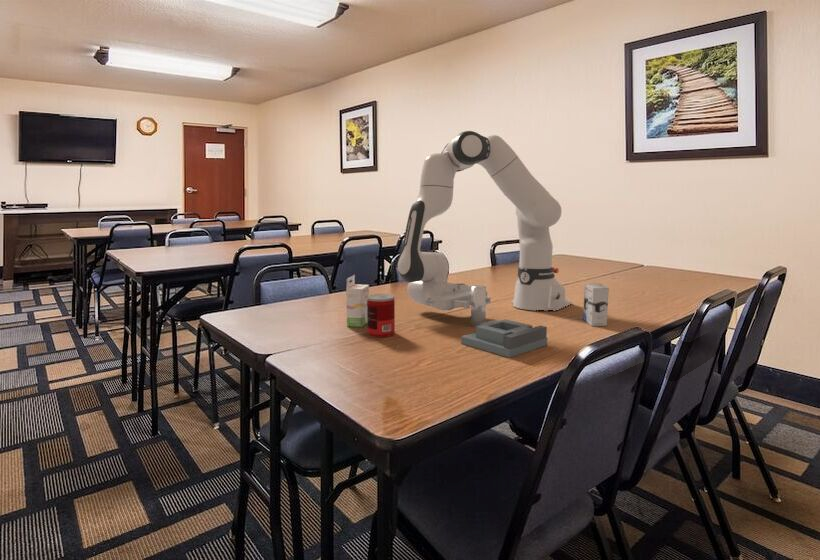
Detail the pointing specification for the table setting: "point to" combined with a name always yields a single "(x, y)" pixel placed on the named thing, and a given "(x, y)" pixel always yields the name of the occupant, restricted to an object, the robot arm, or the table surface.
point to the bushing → (478, 305)
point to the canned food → (381, 315)
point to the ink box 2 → (595, 304)
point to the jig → (506, 337)
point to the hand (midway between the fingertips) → (478, 302)
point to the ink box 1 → (356, 303)
